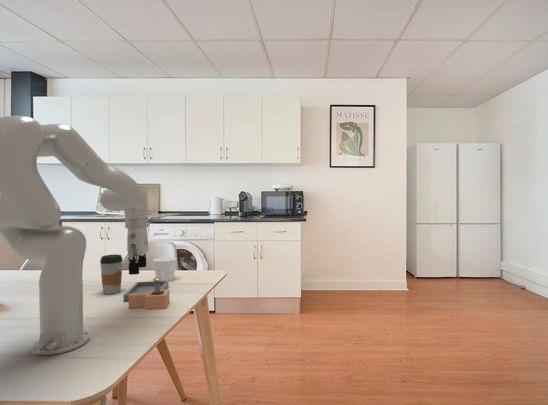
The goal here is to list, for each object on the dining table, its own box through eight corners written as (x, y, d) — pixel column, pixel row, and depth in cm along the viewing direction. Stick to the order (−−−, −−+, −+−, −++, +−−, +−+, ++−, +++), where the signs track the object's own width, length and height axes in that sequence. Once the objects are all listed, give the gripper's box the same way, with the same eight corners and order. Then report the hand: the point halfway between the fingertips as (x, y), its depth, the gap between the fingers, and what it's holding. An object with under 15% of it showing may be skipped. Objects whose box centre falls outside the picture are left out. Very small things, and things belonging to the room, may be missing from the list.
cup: (148, 281, 141) (148, 260, 141) (163, 276, 150) (162, 256, 150) (166, 283, 138) (166, 261, 138) (180, 278, 147) (180, 257, 147)
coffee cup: (113, 296, 120) (113, 258, 120) (95, 294, 122) (95, 257, 122) (127, 289, 129) (127, 254, 128) (110, 288, 130) (110, 253, 130)
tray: (159, 299, 116) (159, 293, 116) (123, 301, 114) (123, 295, 114) (168, 286, 134) (168, 280, 134) (137, 287, 132) (137, 281, 132)
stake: (160, 306, 109) (160, 279, 109) (153, 306, 109) (152, 279, 108) (162, 303, 112) (161, 277, 111) (154, 304, 111) (154, 277, 111)
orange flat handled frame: (165, 308, 107) (165, 295, 107) (126, 310, 105) (126, 297, 105) (169, 301, 114) (169, 289, 114) (132, 303, 112) (132, 291, 112)
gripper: (141, 225, 101) (142, 276, 101) (153, 220, 118) (154, 264, 118) (117, 226, 99) (118, 278, 100) (132, 221, 116) (134, 265, 117)
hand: (138, 270), depth 109 cm, fingers open, 9 cm apart
